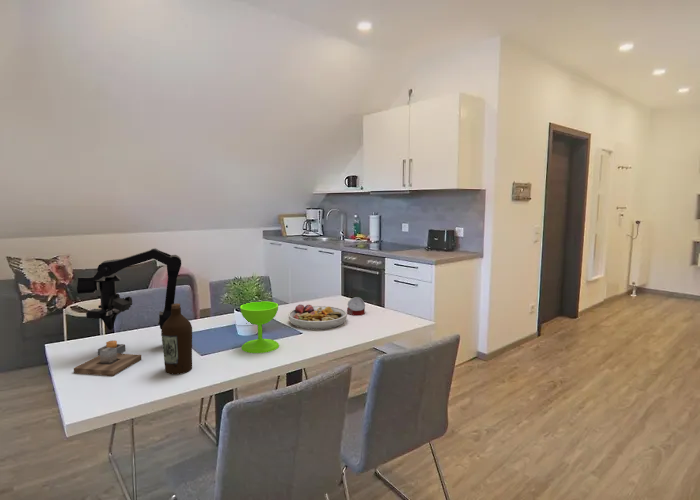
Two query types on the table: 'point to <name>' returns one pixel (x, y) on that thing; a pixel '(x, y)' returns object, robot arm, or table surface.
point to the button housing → (119, 347)
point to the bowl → (317, 317)
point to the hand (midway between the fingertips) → (110, 329)
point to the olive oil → (177, 342)
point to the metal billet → (108, 356)
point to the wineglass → (259, 325)
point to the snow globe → (356, 307)
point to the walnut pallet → (104, 369)
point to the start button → (111, 344)
